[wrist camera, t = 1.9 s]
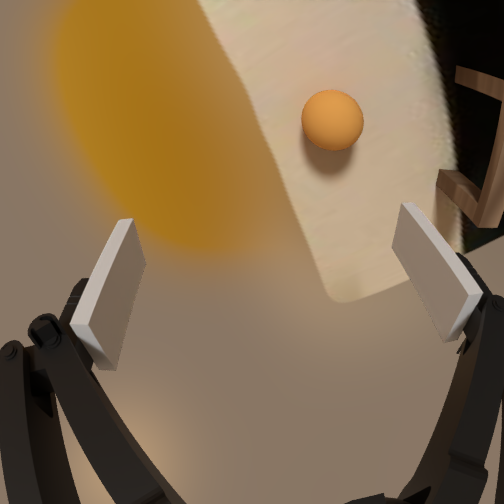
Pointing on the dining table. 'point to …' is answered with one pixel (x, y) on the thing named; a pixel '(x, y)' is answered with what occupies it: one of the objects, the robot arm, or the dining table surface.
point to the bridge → (500, 167)
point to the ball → (332, 120)
